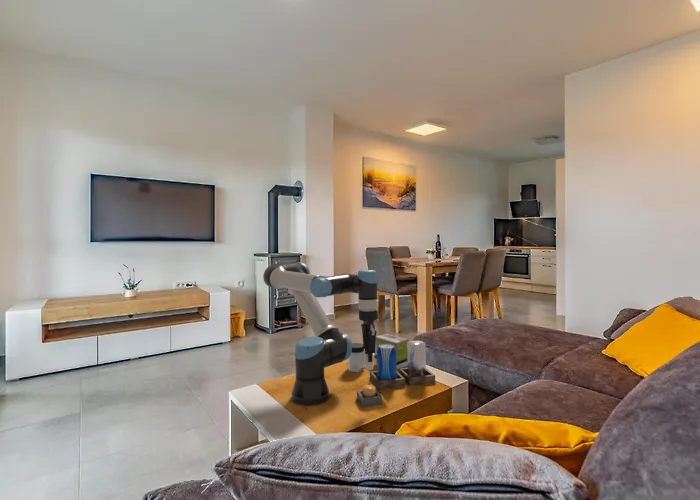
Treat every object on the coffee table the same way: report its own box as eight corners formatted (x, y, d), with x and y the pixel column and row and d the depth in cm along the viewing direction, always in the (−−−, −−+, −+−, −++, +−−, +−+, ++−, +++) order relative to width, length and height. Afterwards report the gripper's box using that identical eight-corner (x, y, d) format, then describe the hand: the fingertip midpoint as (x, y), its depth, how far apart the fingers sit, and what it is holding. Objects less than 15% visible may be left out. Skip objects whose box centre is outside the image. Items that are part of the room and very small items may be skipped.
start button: (364, 398, 139) (364, 390, 139) (361, 393, 144) (360, 385, 144) (377, 397, 140) (377, 389, 140) (373, 391, 145) (373, 384, 145)
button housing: (362, 407, 137) (362, 399, 137) (356, 398, 145) (356, 390, 145) (382, 404, 139) (382, 396, 139) (375, 395, 147) (375, 388, 147)
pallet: (379, 393, 149) (379, 382, 148) (369, 380, 162) (369, 371, 162) (436, 386, 155) (436, 376, 155) (422, 374, 168) (422, 365, 168)
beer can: (395, 387, 151) (395, 349, 151) (375, 385, 153) (375, 348, 153) (397, 379, 160) (397, 343, 159) (378, 378, 161) (378, 342, 161)
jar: (366, 371, 173) (366, 347, 173) (350, 373, 172) (349, 348, 171) (362, 365, 182) (361, 342, 182) (346, 367, 180) (345, 343, 180)
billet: (412, 383, 155) (411, 346, 155) (404, 376, 163) (404, 341, 163) (428, 381, 157) (428, 344, 157) (421, 374, 165) (420, 339, 165)
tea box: (373, 365, 182) (373, 336, 182) (386, 360, 189) (386, 332, 189) (396, 373, 171) (395, 342, 171) (409, 367, 178) (409, 338, 177)
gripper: (382, 311, 135) (383, 373, 136) (372, 306, 148) (373, 362, 148) (363, 313, 133) (364, 376, 134) (354, 307, 146) (356, 364, 147)
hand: (369, 369), depth 141 cm, fingers closed
